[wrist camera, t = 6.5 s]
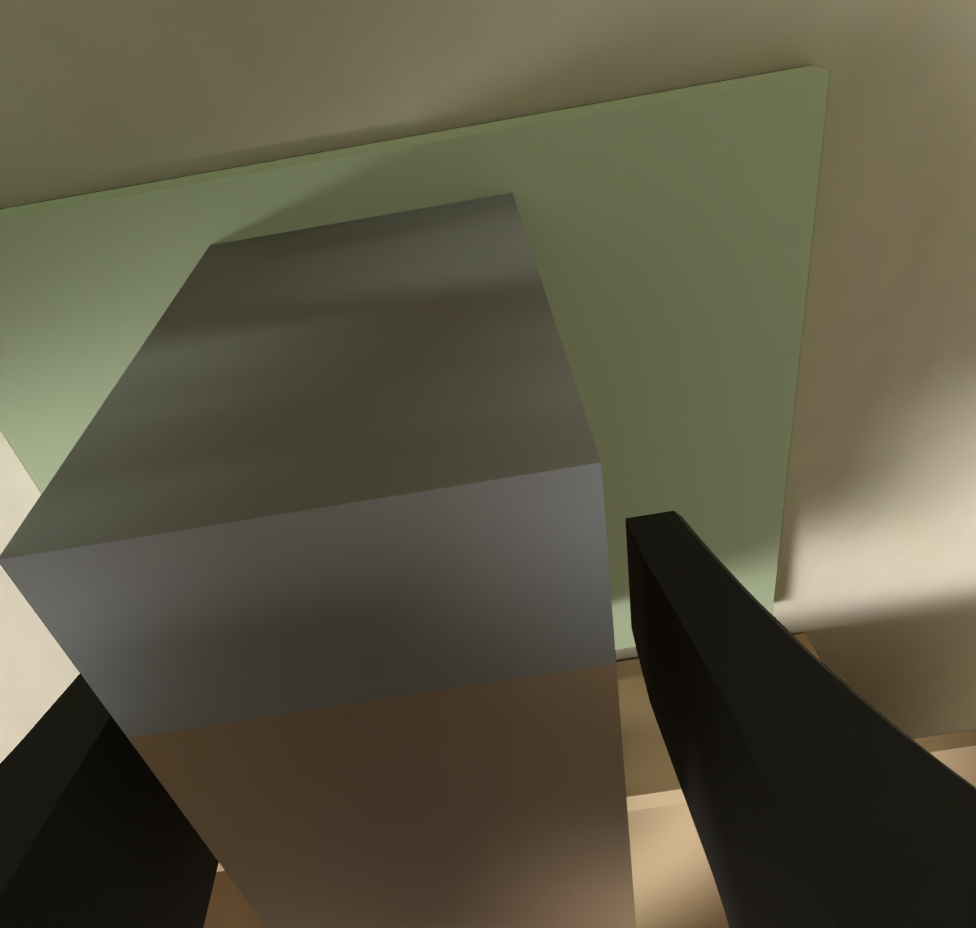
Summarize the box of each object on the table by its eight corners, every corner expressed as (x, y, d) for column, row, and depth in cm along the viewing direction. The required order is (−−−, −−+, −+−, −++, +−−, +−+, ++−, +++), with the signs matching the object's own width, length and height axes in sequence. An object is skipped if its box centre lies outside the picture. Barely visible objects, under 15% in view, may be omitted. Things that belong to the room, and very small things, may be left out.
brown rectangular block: (360, 647, 14) (329, 1012, 10) (208, 245, 10) (-3, 559, 5) (566, 614, 14) (639, 969, 9) (512, 193, 10) (600, 462, 5)
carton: (230, 998, 25) (209, 1116, 22) (7, 755, 16) (-66, 898, 14) (872, 908, 24) (922, 1019, 22) (972, 607, 16) (1072, 731, 13)
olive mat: (189, 696, 16) (183, 716, 15) (-100, 227, 10) (-123, 239, 9) (761, 607, 15) (770, 626, 15) (813, 65, 9) (830, 71, 9)
